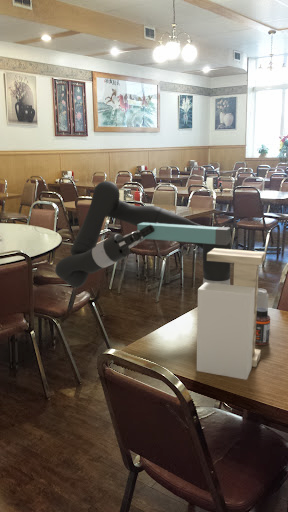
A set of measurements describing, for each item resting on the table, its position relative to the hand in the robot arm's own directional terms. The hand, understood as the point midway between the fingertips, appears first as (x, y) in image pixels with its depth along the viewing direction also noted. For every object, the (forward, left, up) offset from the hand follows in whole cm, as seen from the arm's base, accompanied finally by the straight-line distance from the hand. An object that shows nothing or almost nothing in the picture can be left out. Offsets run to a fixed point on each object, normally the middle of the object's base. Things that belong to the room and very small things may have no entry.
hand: (155, 226), depth 134 cm
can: (-38, +23, -40) cm, 60 cm away
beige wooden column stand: (-6, +22, -39) cm, 46 cm away
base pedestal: (+3, +21, -39) cm, 45 cm away
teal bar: (0, +8, -3) cm, 9 cm away
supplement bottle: (-20, +27, -40) cm, 52 cm away
